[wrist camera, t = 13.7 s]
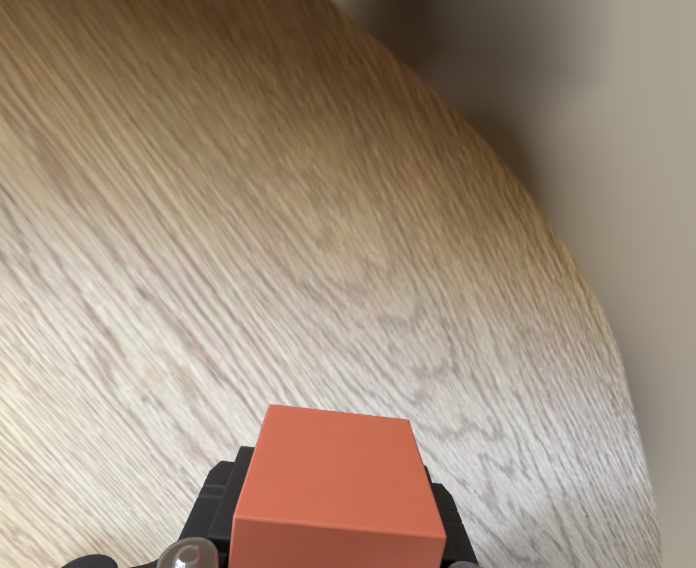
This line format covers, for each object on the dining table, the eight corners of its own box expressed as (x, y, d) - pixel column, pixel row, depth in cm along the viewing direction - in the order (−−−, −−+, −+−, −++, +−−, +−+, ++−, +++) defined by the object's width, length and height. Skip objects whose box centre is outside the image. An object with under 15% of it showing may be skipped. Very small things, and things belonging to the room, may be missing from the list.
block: (409, 418, 13) (448, 536, 8) (386, 535, 14) (410, 697, 9) (268, 402, 13) (232, 516, 8) (255, 523, 14) (216, 683, 9)
